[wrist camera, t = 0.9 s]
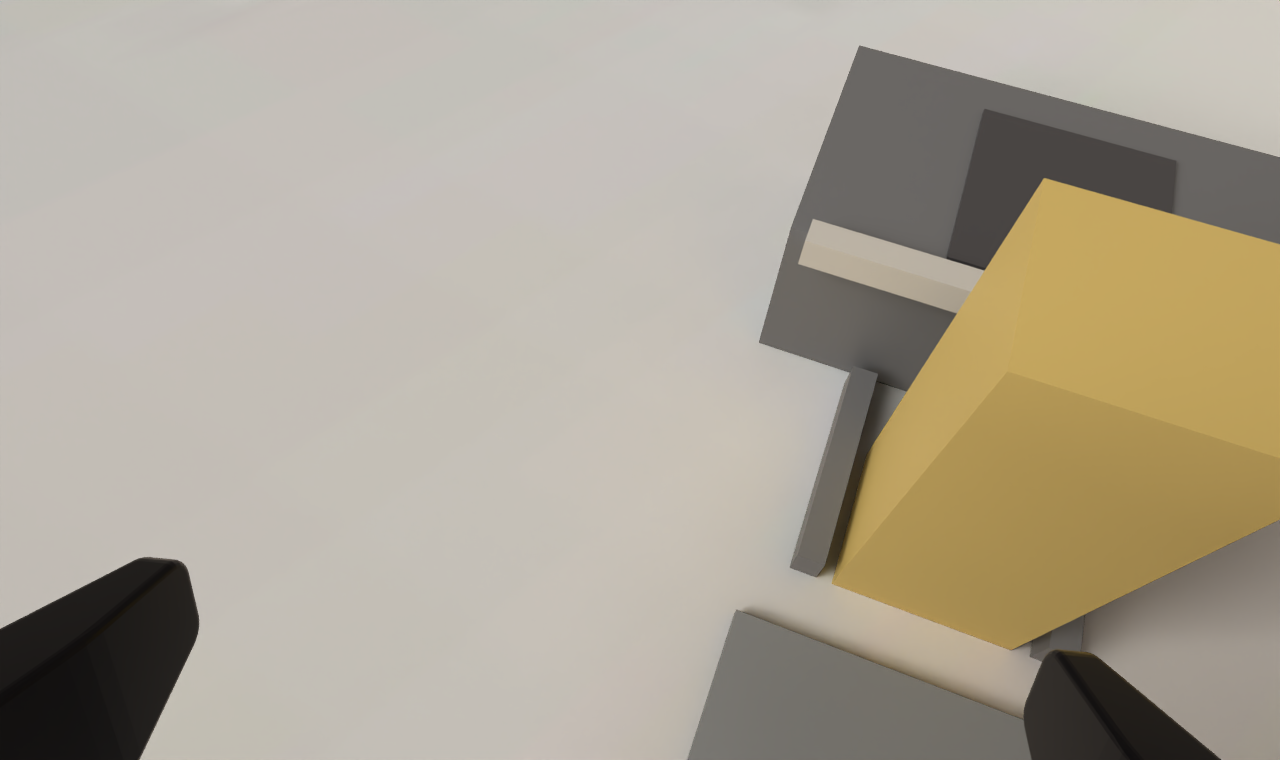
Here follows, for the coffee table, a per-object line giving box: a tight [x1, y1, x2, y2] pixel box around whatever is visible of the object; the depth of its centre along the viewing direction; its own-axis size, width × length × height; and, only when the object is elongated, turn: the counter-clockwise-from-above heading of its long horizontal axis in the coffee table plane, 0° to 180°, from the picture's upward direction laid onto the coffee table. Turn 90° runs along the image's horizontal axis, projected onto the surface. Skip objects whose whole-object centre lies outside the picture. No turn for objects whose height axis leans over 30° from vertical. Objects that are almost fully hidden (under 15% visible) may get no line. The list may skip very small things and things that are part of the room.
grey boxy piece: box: [759, 46, 1280, 661], centre depth 24 cm, size 15×14×7 cm
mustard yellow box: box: [832, 178, 1280, 650], centre depth 19 cm, size 4×5×12 cm
